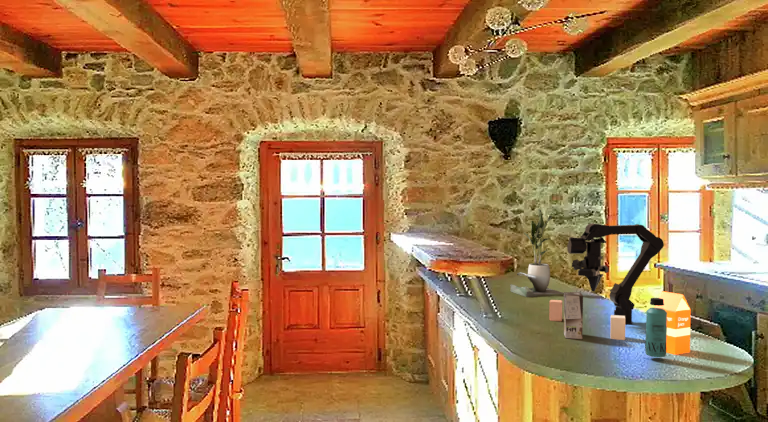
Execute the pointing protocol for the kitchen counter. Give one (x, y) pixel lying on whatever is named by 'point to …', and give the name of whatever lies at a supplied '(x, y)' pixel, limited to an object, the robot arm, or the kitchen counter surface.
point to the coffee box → (573, 315)
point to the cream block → (617, 327)
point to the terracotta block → (555, 310)
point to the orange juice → (676, 322)
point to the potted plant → (537, 266)
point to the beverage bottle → (656, 329)
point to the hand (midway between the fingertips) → (593, 291)
